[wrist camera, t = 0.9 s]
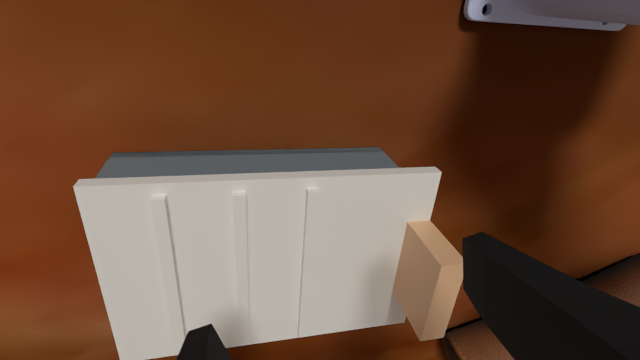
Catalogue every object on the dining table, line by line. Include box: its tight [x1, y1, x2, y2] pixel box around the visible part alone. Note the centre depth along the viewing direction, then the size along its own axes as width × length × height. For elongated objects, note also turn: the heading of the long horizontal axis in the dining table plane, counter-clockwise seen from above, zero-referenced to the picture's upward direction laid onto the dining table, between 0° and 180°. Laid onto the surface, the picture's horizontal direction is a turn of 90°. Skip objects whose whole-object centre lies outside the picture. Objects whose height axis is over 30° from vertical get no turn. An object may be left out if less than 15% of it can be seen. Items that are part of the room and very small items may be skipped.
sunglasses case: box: [442, 253, 640, 360], centre depth 30 cm, size 18×7×7 cm, turn 106°
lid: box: [73, 167, 463, 360], centre depth 16 cm, size 15×10×5 cm, turn 86°
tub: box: [95, 147, 399, 179], centre depth 19 cm, size 13×9×3 cm
